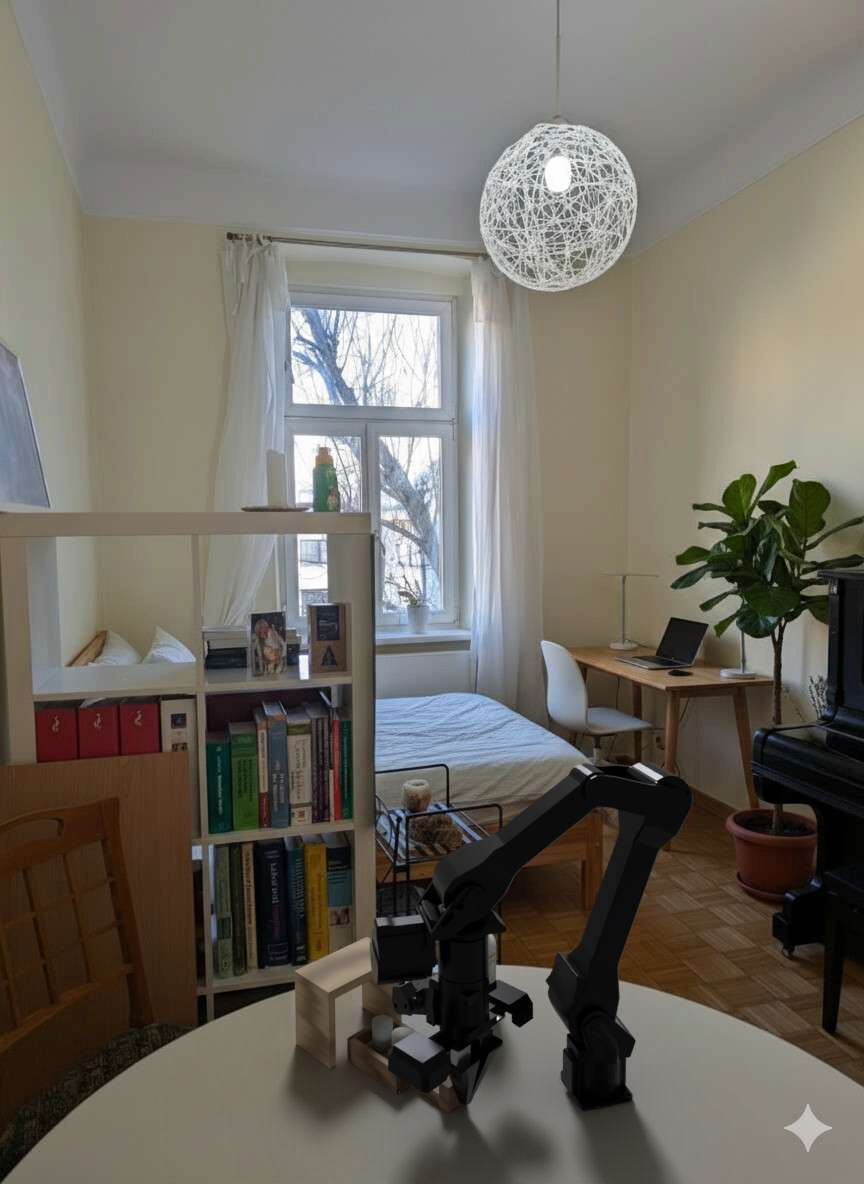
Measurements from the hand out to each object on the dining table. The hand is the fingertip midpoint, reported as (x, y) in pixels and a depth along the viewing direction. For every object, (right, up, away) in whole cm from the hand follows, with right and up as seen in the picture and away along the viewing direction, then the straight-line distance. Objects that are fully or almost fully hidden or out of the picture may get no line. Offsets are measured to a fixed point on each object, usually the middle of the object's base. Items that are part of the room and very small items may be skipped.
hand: (464, 1103), depth 91 cm
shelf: (-15, 0, +14) cm, 21 cm away
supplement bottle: (+2, 0, +20) cm, 20 cm away
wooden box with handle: (-6, -1, +6) cm, 9 cm away
